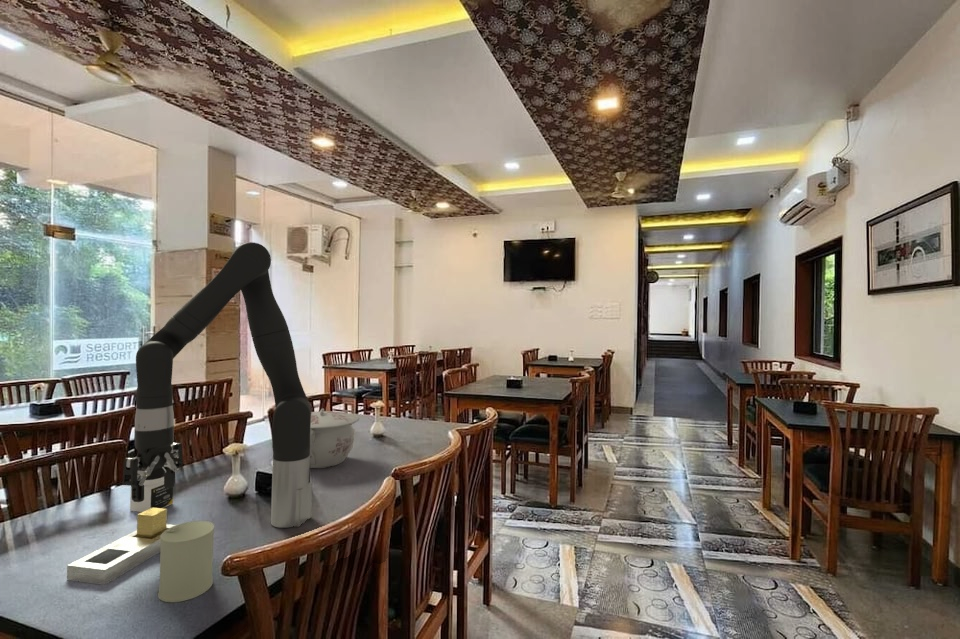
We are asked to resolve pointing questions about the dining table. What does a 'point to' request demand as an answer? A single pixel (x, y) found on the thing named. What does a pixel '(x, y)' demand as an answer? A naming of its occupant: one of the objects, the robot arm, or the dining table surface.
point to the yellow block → (151, 523)
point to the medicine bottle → (153, 493)
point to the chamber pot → (330, 437)
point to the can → (186, 561)
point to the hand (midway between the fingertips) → (154, 494)
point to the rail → (114, 559)
